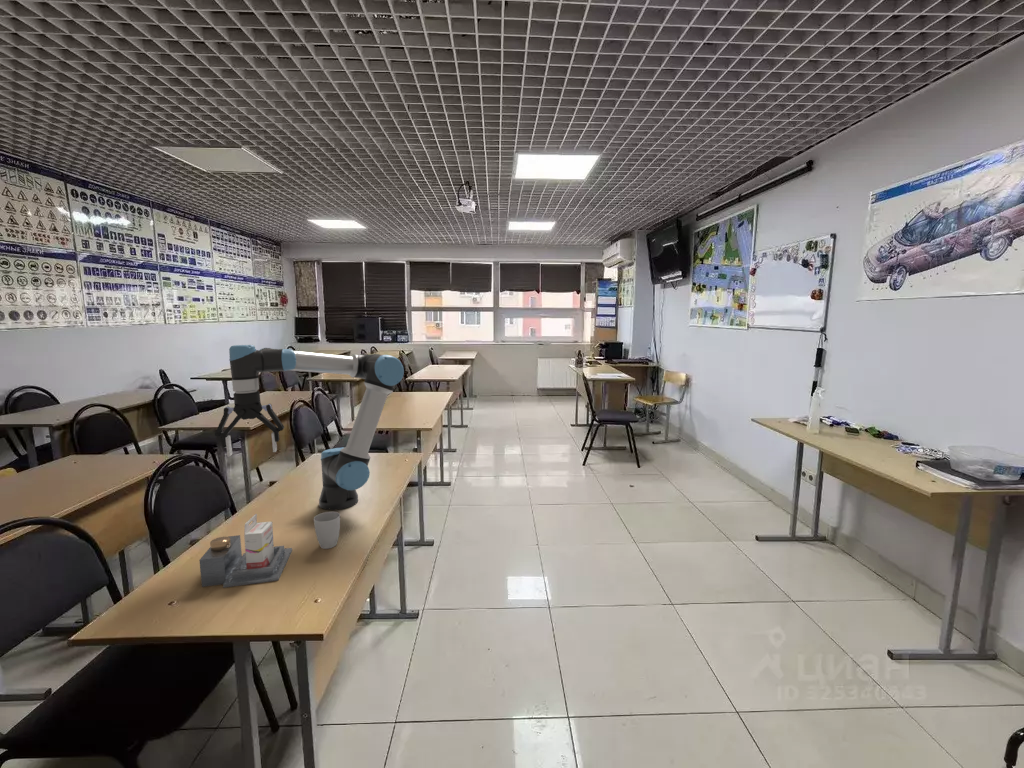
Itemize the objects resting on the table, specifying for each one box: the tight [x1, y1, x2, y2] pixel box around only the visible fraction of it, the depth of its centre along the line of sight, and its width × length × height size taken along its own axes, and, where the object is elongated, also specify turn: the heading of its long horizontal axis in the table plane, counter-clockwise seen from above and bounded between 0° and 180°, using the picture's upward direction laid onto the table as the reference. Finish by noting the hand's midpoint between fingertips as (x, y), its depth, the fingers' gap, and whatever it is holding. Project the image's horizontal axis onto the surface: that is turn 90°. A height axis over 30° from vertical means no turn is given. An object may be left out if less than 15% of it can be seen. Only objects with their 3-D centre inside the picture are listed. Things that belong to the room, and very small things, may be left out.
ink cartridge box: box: [243, 513, 275, 569], centre depth 134 cm, size 9×5×15 cm, turn 8°
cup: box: [313, 511, 341, 550], centre depth 149 cm, size 8×8×10 cm
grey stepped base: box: [199, 534, 293, 589], centre depth 134 cm, size 20×18×10 cm
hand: (252, 453), depth 152 cm, fingers open, 13 cm apart
